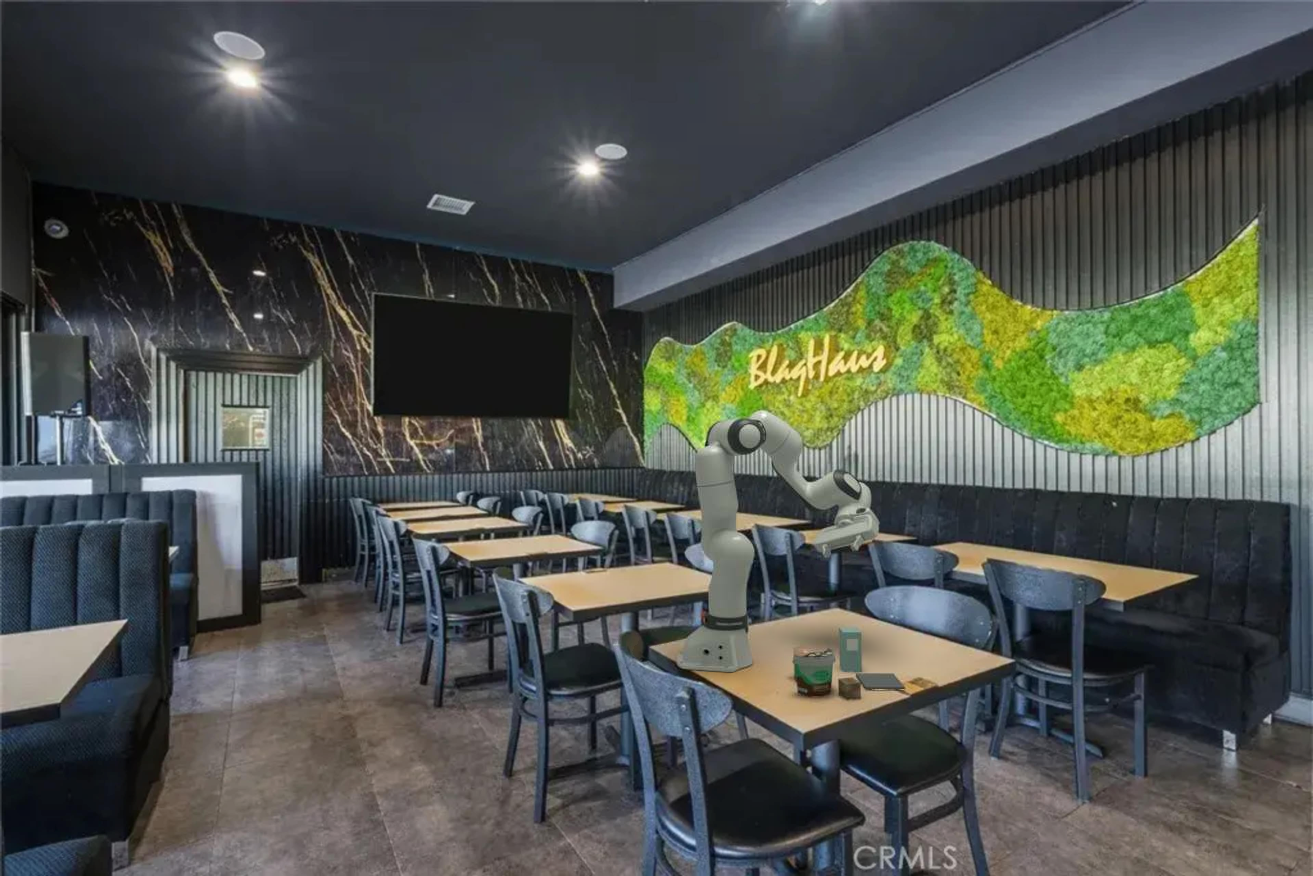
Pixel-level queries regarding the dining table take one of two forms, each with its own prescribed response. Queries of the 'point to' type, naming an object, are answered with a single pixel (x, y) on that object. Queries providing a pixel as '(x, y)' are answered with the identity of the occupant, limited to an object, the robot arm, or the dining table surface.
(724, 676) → the dining table surface
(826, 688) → the food container
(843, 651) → the tall green rectangular block
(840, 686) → the walnut cube
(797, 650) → the tan rounded cylinder
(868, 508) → the robot arm
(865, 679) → the mat
